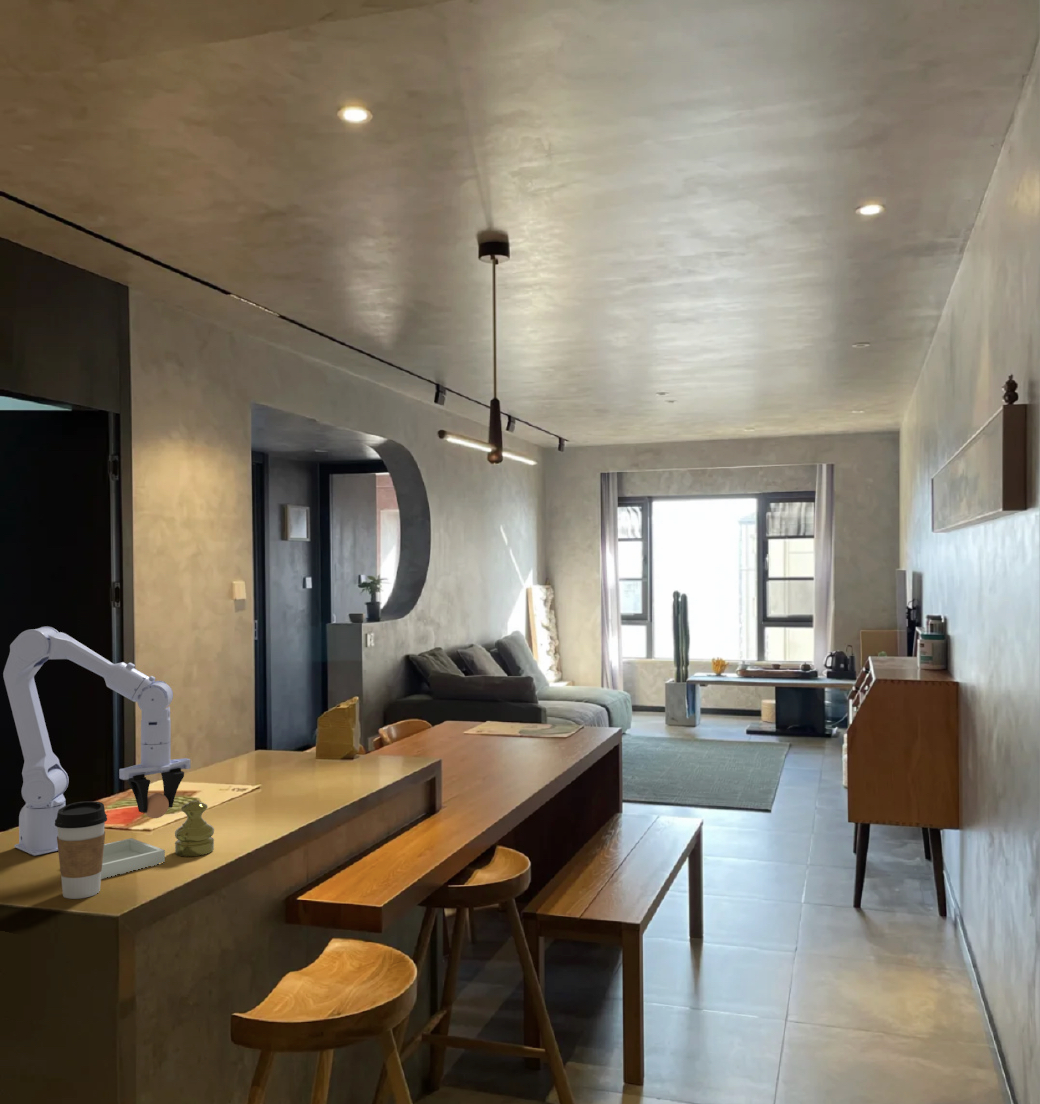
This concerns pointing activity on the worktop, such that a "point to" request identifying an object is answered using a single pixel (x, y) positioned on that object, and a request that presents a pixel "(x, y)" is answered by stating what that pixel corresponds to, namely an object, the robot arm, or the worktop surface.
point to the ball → (157, 805)
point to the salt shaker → (194, 832)
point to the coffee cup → (81, 847)
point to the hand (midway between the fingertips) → (155, 809)
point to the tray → (129, 857)
